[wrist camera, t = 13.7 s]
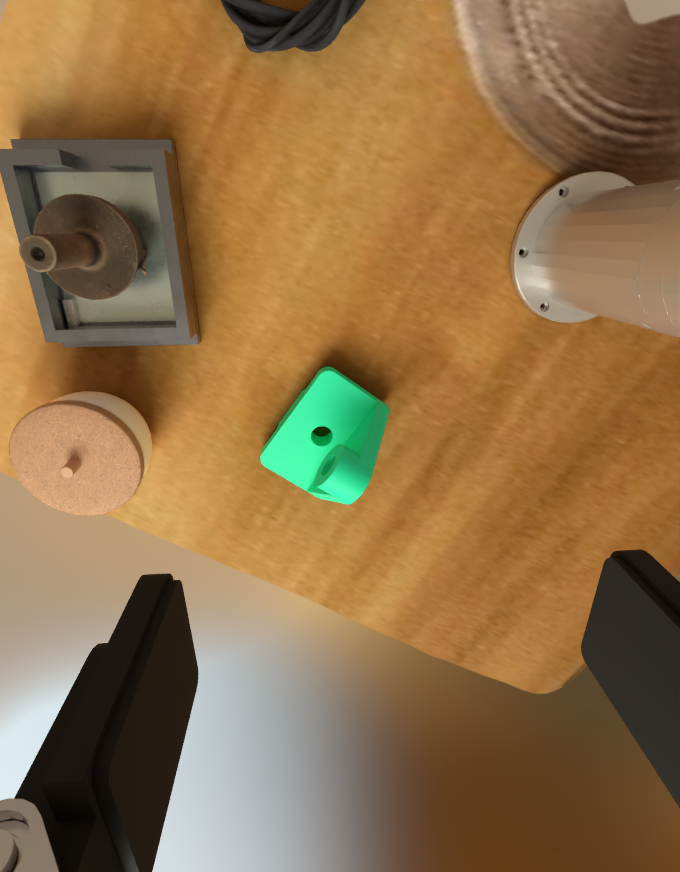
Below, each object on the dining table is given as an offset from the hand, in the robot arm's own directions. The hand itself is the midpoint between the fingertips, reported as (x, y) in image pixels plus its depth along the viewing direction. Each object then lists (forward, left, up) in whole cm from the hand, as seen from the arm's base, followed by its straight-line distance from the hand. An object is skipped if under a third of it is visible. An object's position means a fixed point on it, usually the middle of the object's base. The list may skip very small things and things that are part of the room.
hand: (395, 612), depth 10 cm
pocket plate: (+18, -6, -36) cm, 41 cm away
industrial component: (+17, -6, -35) cm, 40 cm away
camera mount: (+1, +11, -37) cm, 38 cm away
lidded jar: (+22, +10, -37) cm, 44 cm away
